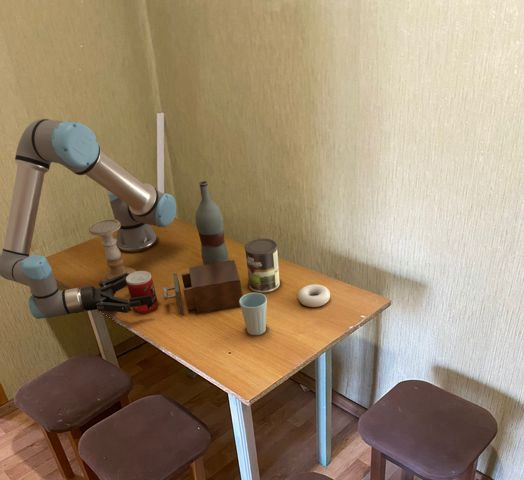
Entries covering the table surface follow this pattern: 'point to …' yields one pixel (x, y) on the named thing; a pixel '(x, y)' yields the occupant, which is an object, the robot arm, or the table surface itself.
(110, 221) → the candle holder
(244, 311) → the cup
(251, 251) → the coffee can
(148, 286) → the canned food
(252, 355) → the table surface
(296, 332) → the table surface
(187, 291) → the drawer
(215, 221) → the bottle
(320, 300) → the donut
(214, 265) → the cabinet
